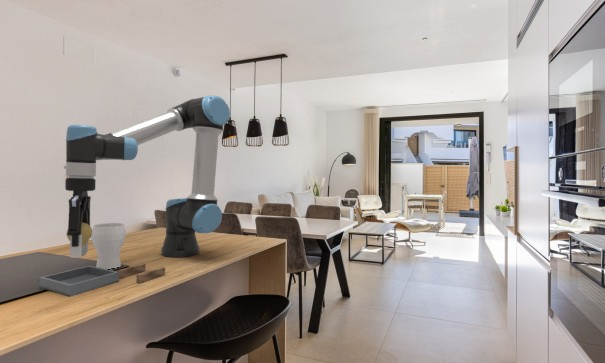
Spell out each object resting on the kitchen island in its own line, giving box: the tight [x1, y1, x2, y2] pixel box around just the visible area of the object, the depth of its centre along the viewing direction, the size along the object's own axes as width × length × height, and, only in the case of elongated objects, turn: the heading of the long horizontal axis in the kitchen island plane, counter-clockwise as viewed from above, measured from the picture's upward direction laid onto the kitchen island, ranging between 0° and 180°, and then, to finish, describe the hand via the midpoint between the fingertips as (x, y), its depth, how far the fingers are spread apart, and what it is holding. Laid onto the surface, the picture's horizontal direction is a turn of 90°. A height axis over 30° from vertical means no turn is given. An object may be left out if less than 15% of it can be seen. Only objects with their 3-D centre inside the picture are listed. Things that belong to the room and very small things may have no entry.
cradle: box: [116, 262, 166, 284], centre depth 111 cm, size 10×10×2 cm
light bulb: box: [66, 223, 93, 257], centre depth 102 cm, size 6×6×10 cm
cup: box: [90, 222, 127, 270], centre depth 121 cm, size 11×11×15 cm
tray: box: [38, 265, 120, 297], centre depth 103 cm, size 15×15×3 cm
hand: (79, 254), depth 102 cm, fingers closed on light bulb, 6 cm apart
